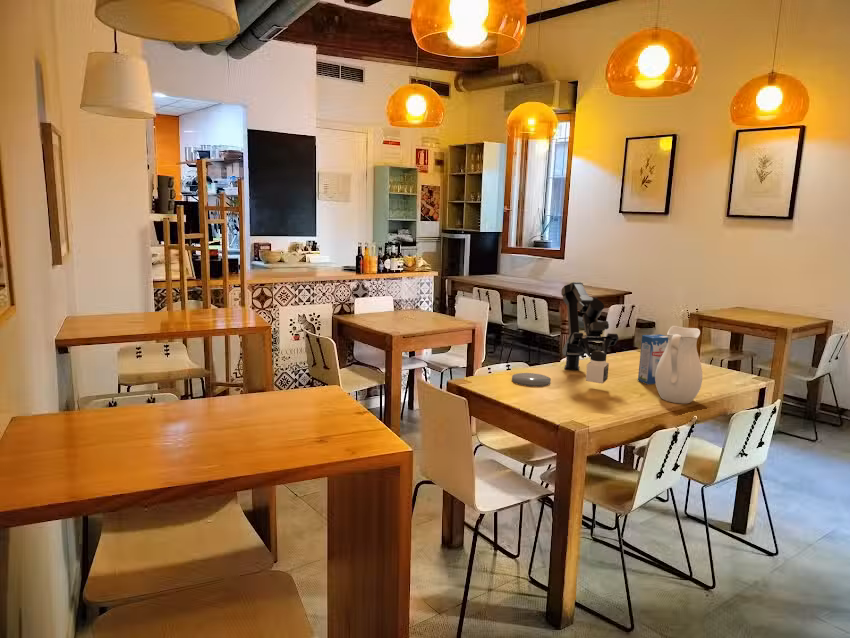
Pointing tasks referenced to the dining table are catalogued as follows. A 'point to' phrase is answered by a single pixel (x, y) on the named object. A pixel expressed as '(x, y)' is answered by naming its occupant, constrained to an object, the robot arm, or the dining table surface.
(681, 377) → the pitcher
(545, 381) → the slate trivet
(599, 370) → the medicine bottle
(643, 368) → the milk carton
